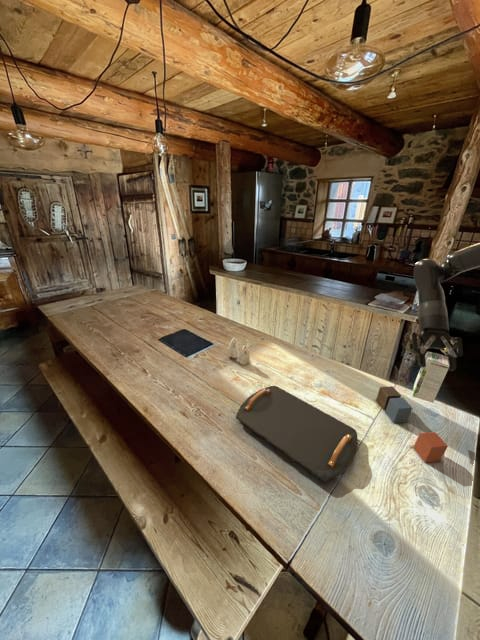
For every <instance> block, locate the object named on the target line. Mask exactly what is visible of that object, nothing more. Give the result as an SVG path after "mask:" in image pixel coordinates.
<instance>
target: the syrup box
mask: <svg viewBox="0 0 480 640" xmlns="http://www.w3.org/2000/svg"><path fill="white" fill-rule="evenodd" d="M425 359H426V367H424V368H422V367H419V368H420V369H419V370H418V374H417V376H416V378H415V381H414V383H413V386H412V397H413V398H416V399H420V400H422V401H426V402H429V403H434V402H435V400H436V398H437V395H438V393H439V391H440V389H441V386H442V384H443V382H444V380H445V378H446V375H447V373H448V372H449V371H448V368H449V358H448V357H447V356H446V355H445V354H440V353H437V352H432V351H426V352H425Z"/></svg>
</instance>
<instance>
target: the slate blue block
mask: <svg viewBox="0 0 480 640" xmlns="http://www.w3.org/2000/svg"><path fill="white" fill-rule="evenodd" d="M412 410H413V406H411V404H410V403H409V402H408V401H407V400H406V399H405V398H404V397H400V398H390V399H389V402H388V405H387V408H386V410H384V411H385V412H384V413H385V414H386V415H387V416H388V418H389V419H390V420H391V421H392V423H393V424H395V423H397V424H398V423H407V422H408V420H409V418H410V416H411V413H412Z"/></svg>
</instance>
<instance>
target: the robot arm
mask: <svg viewBox="0 0 480 640" xmlns="http://www.w3.org/2000/svg"><path fill="white" fill-rule="evenodd" d="M479 267H480V242H476V243H474V244H470V245H468V246H465V247H462V248H460V249H458V250H455V251H452V252H451V253H449V254H448V255H447V259H446V261H444V262H442V263H438V262H437V261H436V260H434V259H433V258H427V257H426V258H422V259H420V260H419V261H417V262H416V263H415V265H414V267H413V271H412V274H413V275H412V276H413V281H414V283H415V287H416V290H417V299H418V301H417V302H418V312H417V313H418V314H417V316H418V329H419V333H417V332H412V333H411V334H409V335H408V341H409V342H408V344H409V352H410V353H412V354H415V355H416V358H417V359H416V360H417V365H418V366H419V368H421V367H422V368H424V367H426V359H425V356H426V352H427V351H428V349H429V350H433V349H435V350H440V351H441V352H442V353H443V355H444V356H447V357H448V358H449V368H448V371H447V372H453V371H455V370H456V369H457V367H458V366H457V358H460V357H463V356H464V350H463V349H464V348H463V339H462V337H461V336H456V337H454V336H450V334H449V331H450V326H449V316H448V308H447V304H446V296H445V291H444V289H443V287H442V285H441V284H442V283H445V282H446V281H448V280H450V279H452V278H454V277H456V276H458V275H459V274H461V273H465V272H467V271H471V270H473V269H477V268H479ZM419 340H420V341H421V345H420V346H418V345H419V344H418V341H419ZM451 345H452V346H451Z"/></svg>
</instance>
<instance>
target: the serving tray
mask: <svg viewBox="0 0 480 640" xmlns="http://www.w3.org/2000/svg"><path fill="white" fill-rule="evenodd" d="M235 418H236V420H237V421H239V422H240V423H241V424H243V425H244V426H246V428H248V429H250V430H252V432H254V433H255V434H256V435H258V436H259V437H261V438H263V439H264V440H266V441H267V442H268V443H269V444H270V445H271V446H273V447H274V448H276V449H278V450H279V452H282V453H283V454H285V455H286V456H287V457H288V458H289V459H290V460H292V461H293V462H296V463H297V464H299V465H300V466H301V467H303V468H304V469H306V470H307V471H308V472H310V473H311V474H313V475H314V476H315V477H317V478H318V479H320V480H321V481H322V482H324V483H326V482H328V481H330V480H332V479H334V478H335V477H337V476H340V475H341V474H342V473H344V471H345V470H346V469H348V468H349V467H350V466H351V464H352V462H353V461H354V459H355V457H356V456H357V451H358V445H359V444H358V443H359V442H358V432H357V430H356V429H354V427H352V426H350V425H349V424H346V422H343V421H341V420H339V419H338V418H335V417H334V416H332V415H331V414H328V413H326V412H325V411H323V410H321V409H319V408H318V407H315V406H313V405H312V404H311V403H308V402H306V401H305V400H303V399H301V398H299V397H298V396H295V395H293V394H292V393H290V392H289V391H286V390H285V389H282V388H281V387H279V386H276V385H270V386H266V387H265V388H262V389H259V390H257V391H256V392H254V393H252V394H250V395H249V396H248V397H247V398H246V399H245V400H244V401H243V403H241V405H240V407H239V409H238V411H237V413H236V415H235Z"/></svg>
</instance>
